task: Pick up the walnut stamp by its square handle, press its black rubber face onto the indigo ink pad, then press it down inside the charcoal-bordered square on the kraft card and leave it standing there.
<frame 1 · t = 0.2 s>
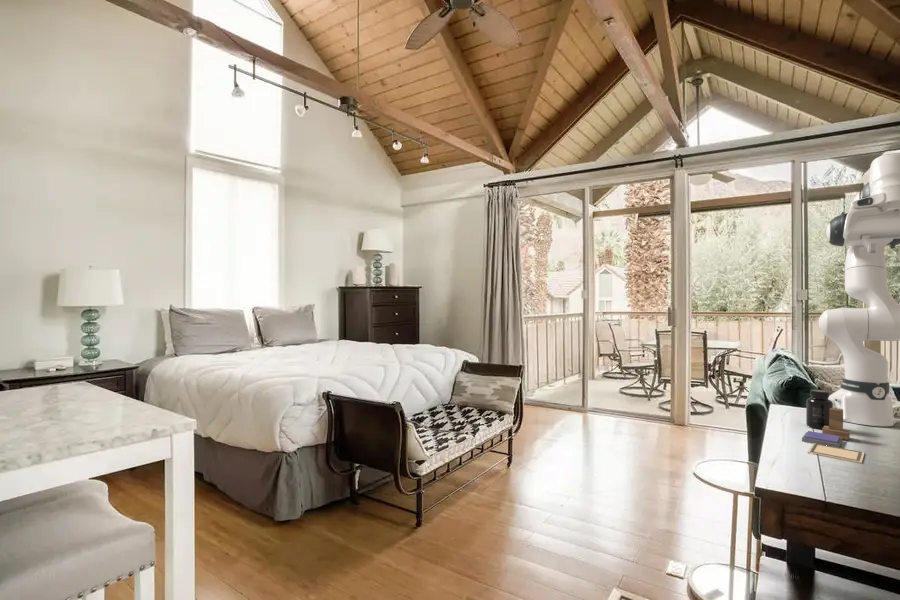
hand: (897, 250, 114), 54 cm above the table, tool tilted 30°, fingers open, 8 cm apart
stamp: (835, 437, 140), on the table
supplement bottle: (819, 428, 151), on the table
marked card: (835, 453, 125), on the table
ink pad: (822, 441, 136), on the table
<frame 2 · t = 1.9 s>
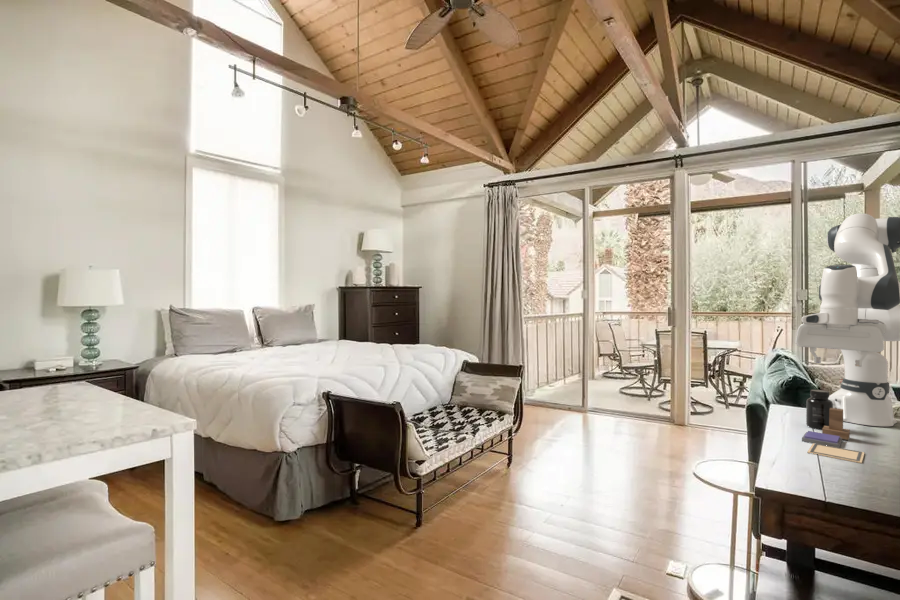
hand: (837, 364, 139), 22 cm above the table, tool pointing down, fingers open, 8 cm apart
nothing on the table moved.
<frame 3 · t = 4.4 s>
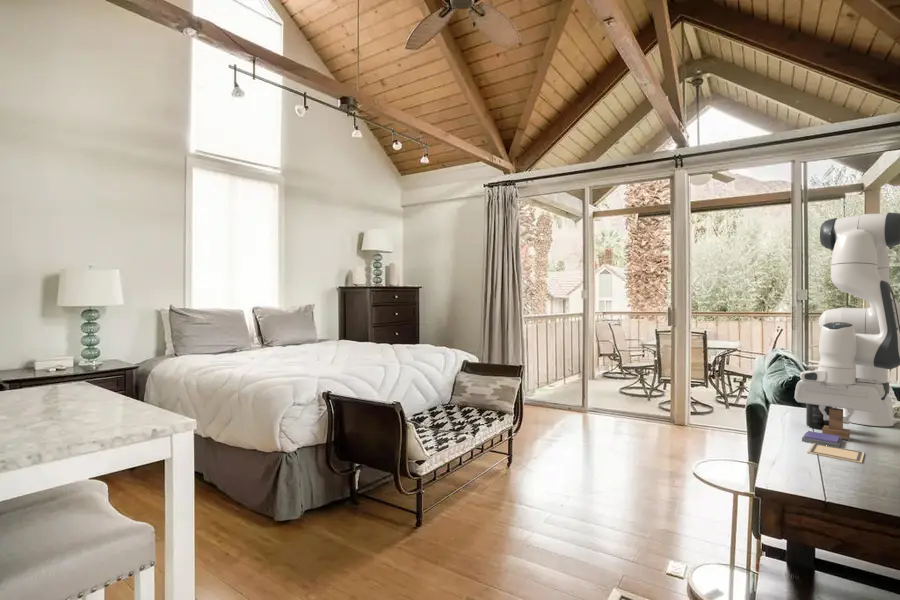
hand: (836, 421, 140), 5 cm above the table, tool pointing down, fingers closed on stamp, 3 cm apart
stamp: (835, 437, 140), on the table, touching gripper
everything else where it was.
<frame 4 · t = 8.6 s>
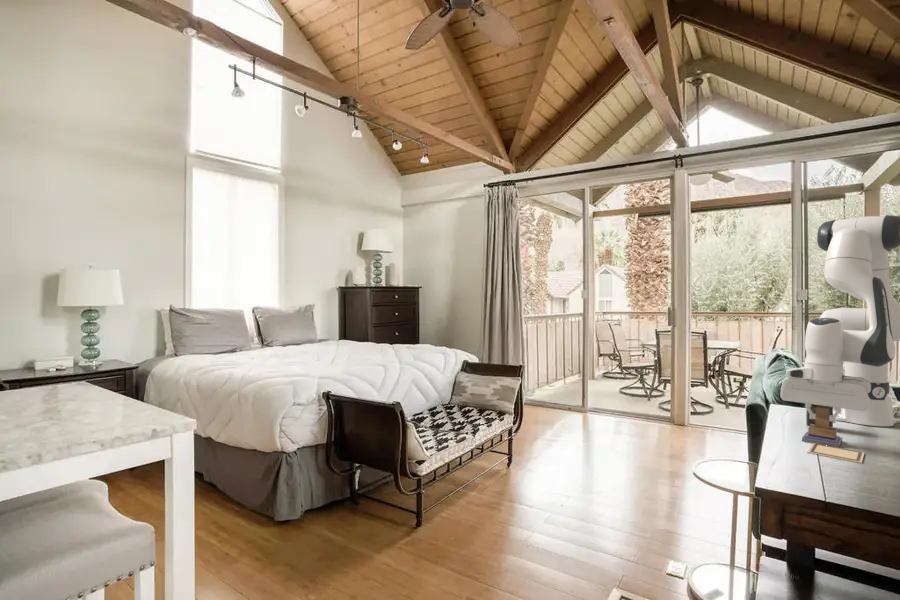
hand: (822, 420, 136), 6 cm above the table, tool pointing down, fingers closed on stamp, 3 cm apart
stamp: (822, 436, 136), point 1 cm above the table, touching gripper, ink pad
everything else where it was.
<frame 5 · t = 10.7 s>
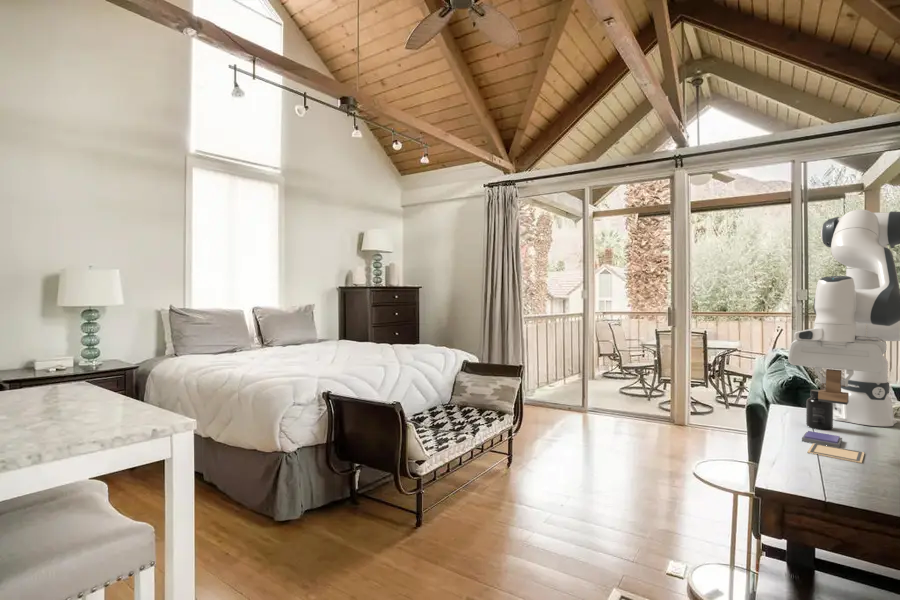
hand: (833, 385, 127), 18 cm above the table, tool pointing down, fingers closed on stamp, 3 cm apart
stamp: (833, 401, 127), point 14 cm above the table, touching gripper
everything else where it was.
when the fingers open (5 cm above the table, at t = 12.7 s): stamp stays where it is, resting on marked card.
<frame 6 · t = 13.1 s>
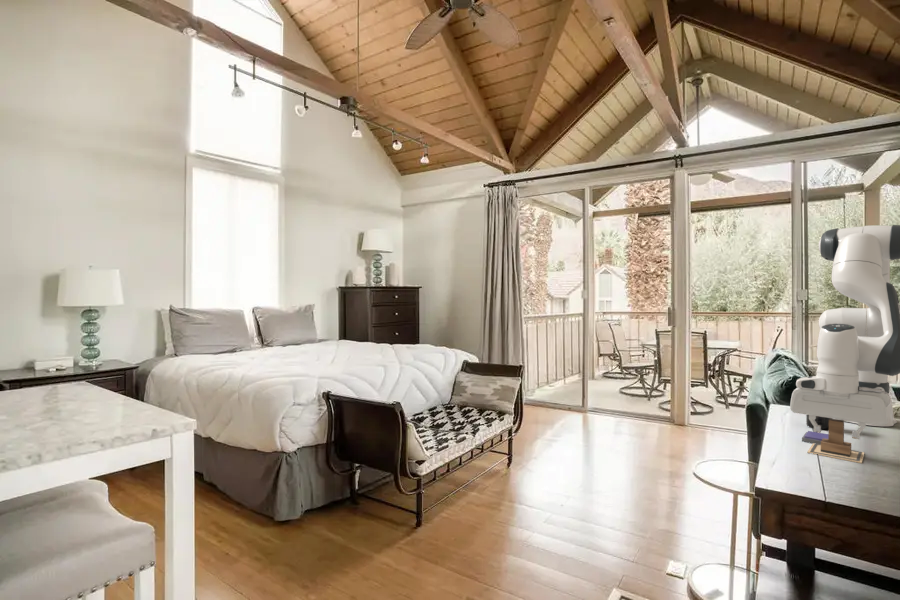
hand: (836, 435, 125), 5 cm above the table, tool pointing down, fingers open, 7 cm apart
stamp: (835, 452, 125), resting on marked card
everything else where it was.
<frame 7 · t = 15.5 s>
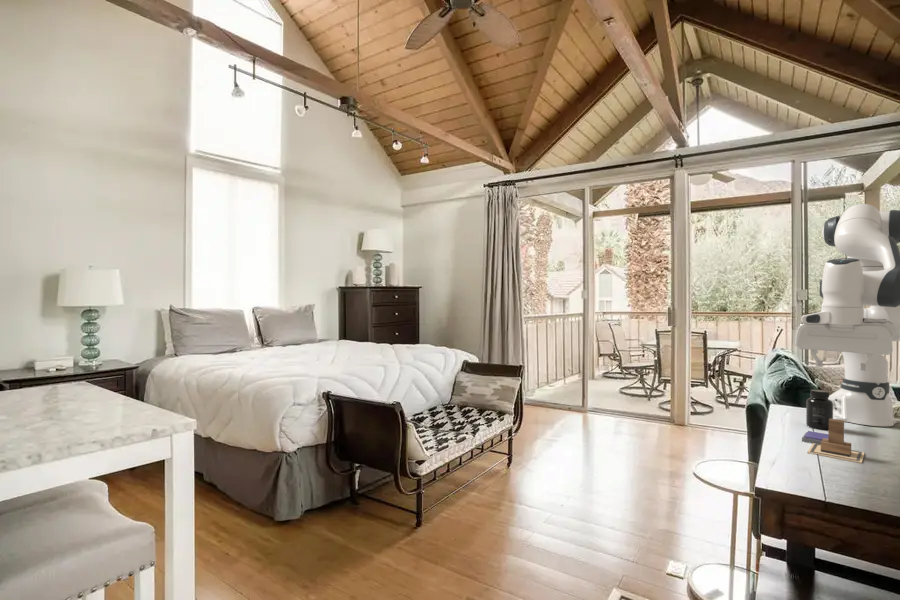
hand: (841, 368, 126), 23 cm above the table, tool pointing down, fingers open, 8 cm apart
nothing on the table moved.
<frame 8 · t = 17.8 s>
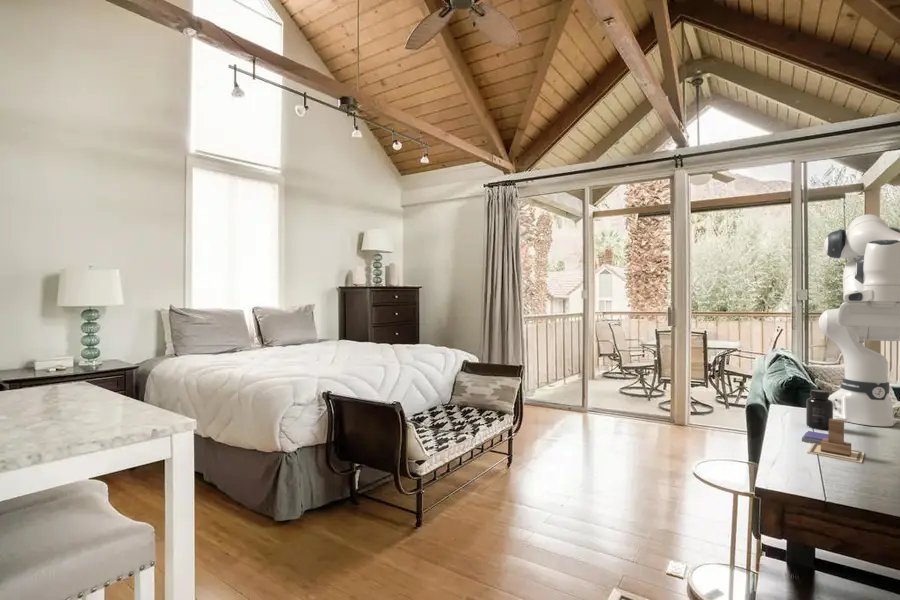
hand: (882, 343, 133), 29 cm above the table, tool pointing down, fingers open, 8 cm apart
nothing on the table moved.
at the end: stamp 0.0 cm off-centre on the marked card, point 0.3 cm above the marked card's base; stamp tilted 0°; the gripper is holding nothing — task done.
